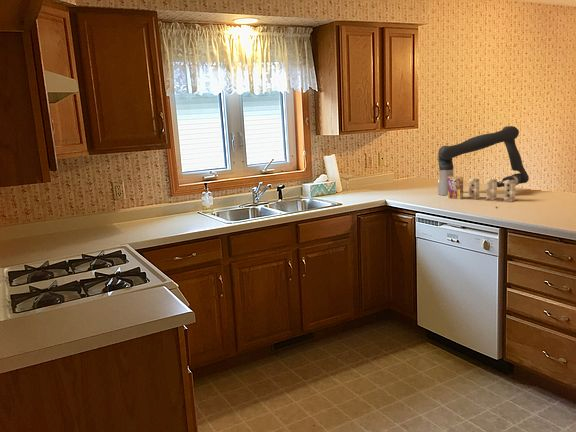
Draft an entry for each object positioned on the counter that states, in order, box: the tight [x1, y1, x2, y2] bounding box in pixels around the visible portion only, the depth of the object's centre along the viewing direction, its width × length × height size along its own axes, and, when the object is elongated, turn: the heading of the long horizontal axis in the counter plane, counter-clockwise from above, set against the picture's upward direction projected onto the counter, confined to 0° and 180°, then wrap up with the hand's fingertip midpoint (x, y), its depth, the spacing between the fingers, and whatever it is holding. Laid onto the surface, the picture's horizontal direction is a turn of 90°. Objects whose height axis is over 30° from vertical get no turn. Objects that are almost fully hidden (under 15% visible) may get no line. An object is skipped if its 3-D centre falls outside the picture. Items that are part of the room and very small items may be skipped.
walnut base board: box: [464, 196, 519, 203], centre depth 303 cm, size 30×10×2 cm, turn 44°
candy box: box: [447, 175, 464, 200], centre depth 314 cm, size 9×4×15 cm, turn 39°
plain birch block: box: [485, 178, 498, 200], centre depth 302 cm, size 4×4×12 cm
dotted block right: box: [503, 180, 516, 201], centre depth 294 cm, size 4×5×12 cm
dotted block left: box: [468, 177, 480, 199], centre depth 310 cm, size 4×5×12 cm
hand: (498, 185), depth 309 cm, fingers closed
